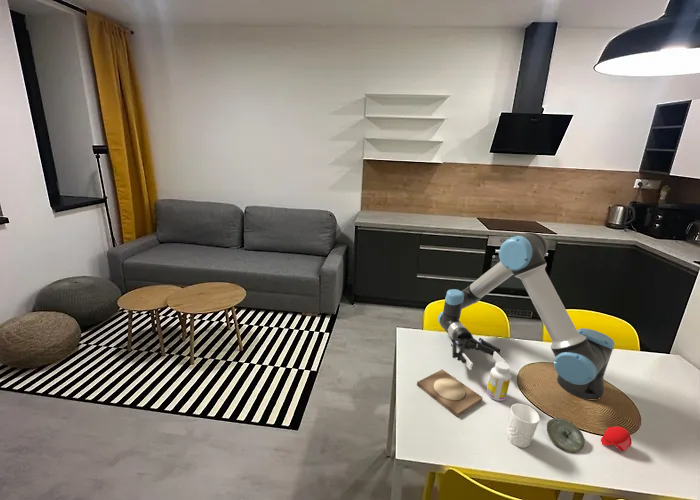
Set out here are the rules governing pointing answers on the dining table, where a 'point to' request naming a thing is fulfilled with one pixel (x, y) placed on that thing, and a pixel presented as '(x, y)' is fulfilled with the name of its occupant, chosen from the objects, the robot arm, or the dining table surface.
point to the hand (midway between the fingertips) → (487, 365)
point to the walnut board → (449, 392)
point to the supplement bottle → (499, 381)
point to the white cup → (521, 425)
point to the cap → (617, 438)
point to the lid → (565, 435)
